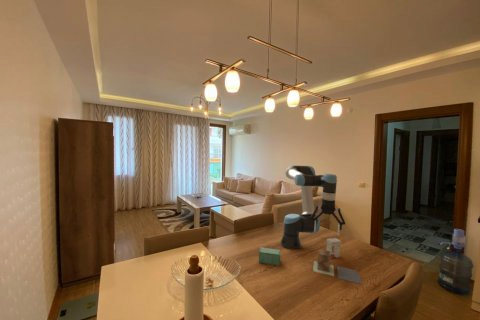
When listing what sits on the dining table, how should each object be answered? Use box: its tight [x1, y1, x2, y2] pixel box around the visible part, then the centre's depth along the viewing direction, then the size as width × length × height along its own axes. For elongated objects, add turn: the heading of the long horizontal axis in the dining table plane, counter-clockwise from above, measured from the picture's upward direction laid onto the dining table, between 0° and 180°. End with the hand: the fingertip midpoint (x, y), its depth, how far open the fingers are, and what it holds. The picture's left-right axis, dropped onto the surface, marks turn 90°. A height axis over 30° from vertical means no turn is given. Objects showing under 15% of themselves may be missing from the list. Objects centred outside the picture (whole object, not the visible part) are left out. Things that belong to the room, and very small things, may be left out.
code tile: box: [312, 260, 335, 277], centre depth 133 cm, size 12×13×1 cm
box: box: [258, 246, 281, 267], centre depth 138 cm, size 7×14×8 cm, turn 79°
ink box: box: [325, 237, 342, 259], centre depth 149 cm, size 9×5×12 cm, turn 108°
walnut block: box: [317, 248, 332, 272], centre depth 133 cm, size 7×7×10 cm
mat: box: [336, 266, 362, 285], centre depth 127 cm, size 12×14×1 cm
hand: (326, 232), depth 132 cm, fingers open, 13 cm apart
